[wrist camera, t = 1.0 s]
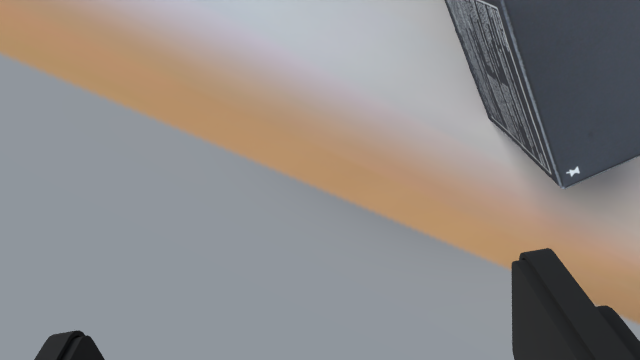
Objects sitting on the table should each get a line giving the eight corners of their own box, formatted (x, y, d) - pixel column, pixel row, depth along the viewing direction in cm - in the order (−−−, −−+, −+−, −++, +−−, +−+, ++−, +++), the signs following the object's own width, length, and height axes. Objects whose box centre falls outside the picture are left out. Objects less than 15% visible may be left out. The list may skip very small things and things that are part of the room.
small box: (580, 78, 32) (692, 140, 23) (488, 121, 33) (558, 197, 24) (538, -81, 27) (657, -83, 18) (433, -23, 29) (493, 2, 19)
